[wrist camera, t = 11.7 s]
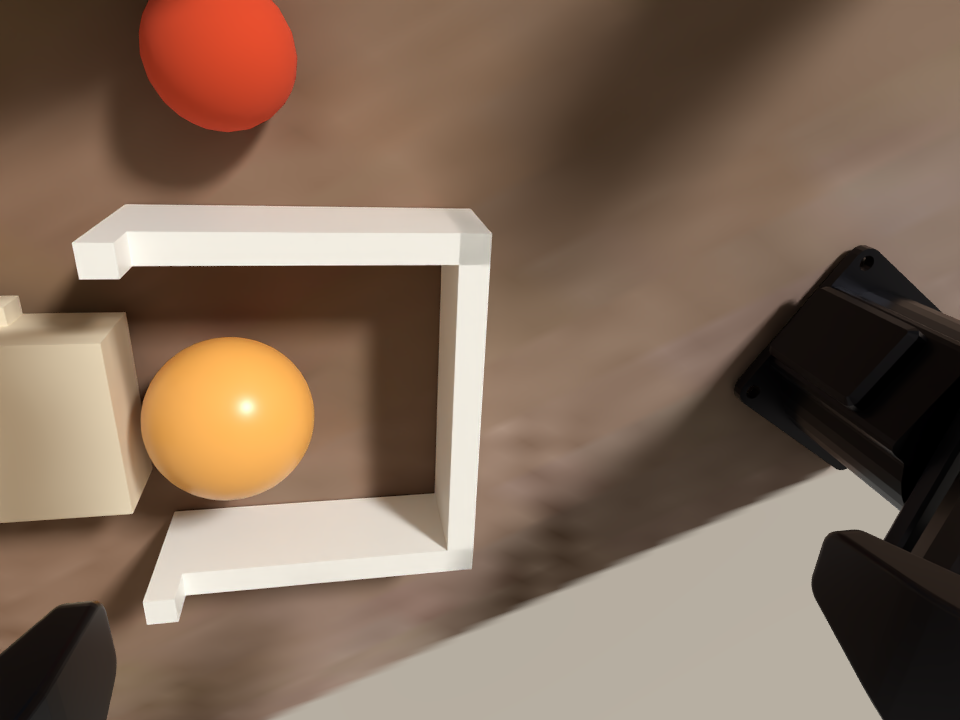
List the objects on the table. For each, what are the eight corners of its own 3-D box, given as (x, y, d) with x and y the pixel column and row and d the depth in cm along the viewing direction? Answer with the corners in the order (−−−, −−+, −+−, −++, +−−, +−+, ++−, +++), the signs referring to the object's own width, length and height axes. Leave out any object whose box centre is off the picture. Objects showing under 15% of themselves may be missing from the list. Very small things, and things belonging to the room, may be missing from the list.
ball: (73, 404, 17) (202, 347, 21) (164, 547, 18) (274, 467, 22) (169, 346, 15) (294, 293, 19) (269, 512, 16) (371, 429, 19)
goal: (470, 208, 19) (500, 244, 16) (456, 510, 24) (477, 591, 20) (125, 203, 18) (71, 242, 14) (177, 531, 22) (147, 624, 18)
